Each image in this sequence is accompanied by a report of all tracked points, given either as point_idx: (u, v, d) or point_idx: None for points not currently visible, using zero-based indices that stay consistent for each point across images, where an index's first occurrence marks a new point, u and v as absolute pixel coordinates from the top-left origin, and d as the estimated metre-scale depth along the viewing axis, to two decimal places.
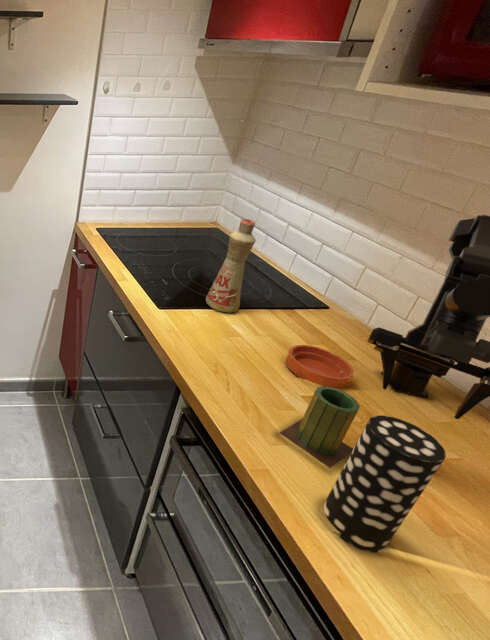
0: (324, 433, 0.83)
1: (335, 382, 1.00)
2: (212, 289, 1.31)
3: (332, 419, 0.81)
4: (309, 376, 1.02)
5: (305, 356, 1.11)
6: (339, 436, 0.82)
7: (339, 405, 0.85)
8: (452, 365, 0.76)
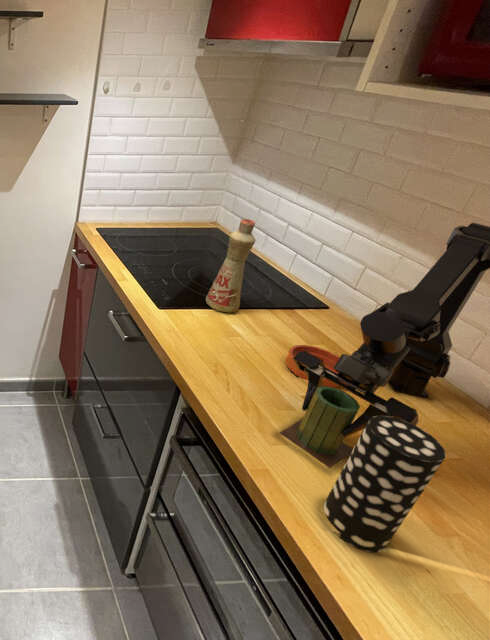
0: (324, 433, 0.83)
1: None
2: (212, 289, 1.31)
3: (332, 419, 0.81)
4: None
5: None
6: (339, 436, 0.82)
7: (339, 405, 0.85)
8: (353, 390, 0.84)
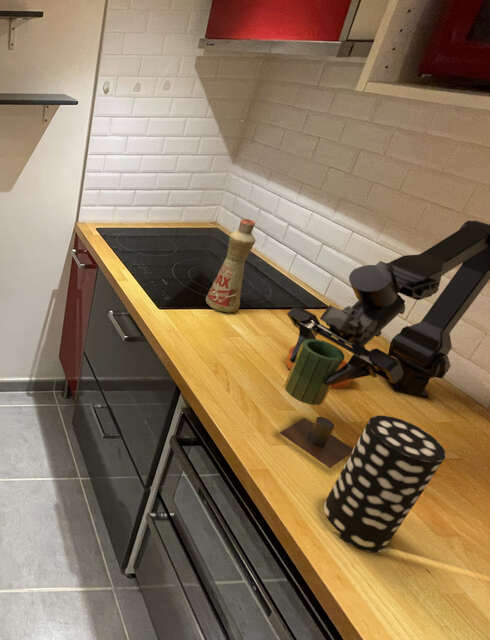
0: (307, 382, 0.86)
1: None
2: (212, 289, 1.31)
3: (315, 367, 0.84)
4: None
5: None
6: (322, 385, 0.85)
7: None
8: (341, 343, 0.85)
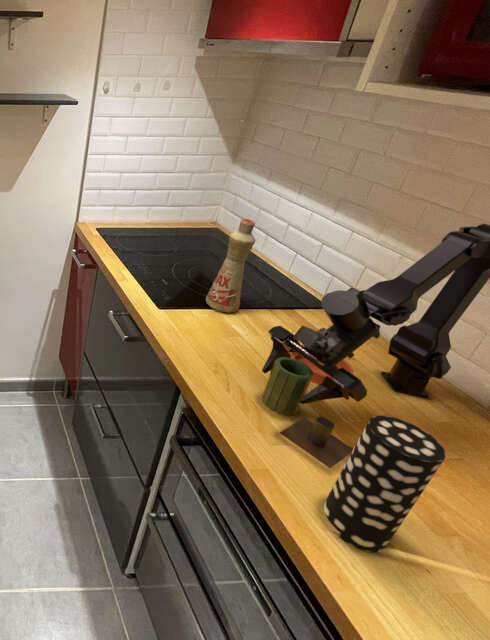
0: (278, 396, 0.93)
1: None
2: (212, 289, 1.31)
3: (284, 383, 0.91)
4: None
5: None
6: (291, 400, 0.92)
7: None
8: (319, 365, 0.91)
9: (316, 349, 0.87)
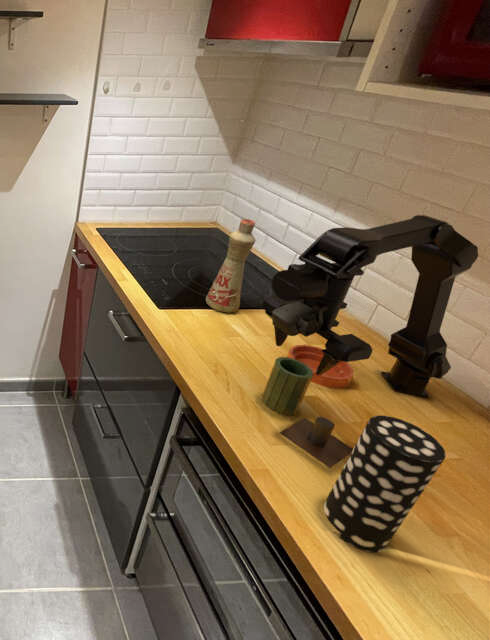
0: (278, 396, 0.93)
1: (335, 382, 1.00)
2: (212, 289, 1.31)
3: (284, 383, 0.91)
4: None
5: (305, 356, 1.11)
6: (291, 400, 0.92)
7: None
8: (317, 331, 0.86)
9: (295, 333, 0.84)
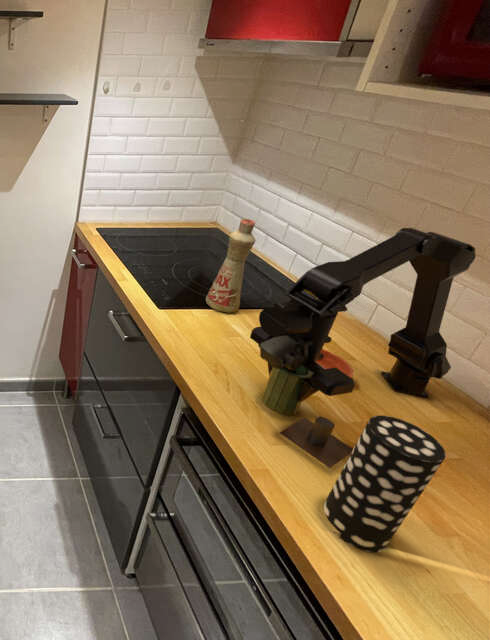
0: (278, 396, 0.93)
1: None
2: (212, 289, 1.31)
3: (284, 383, 0.91)
4: None
5: None
6: (291, 400, 0.92)
7: None
8: None
9: (281, 366, 0.87)
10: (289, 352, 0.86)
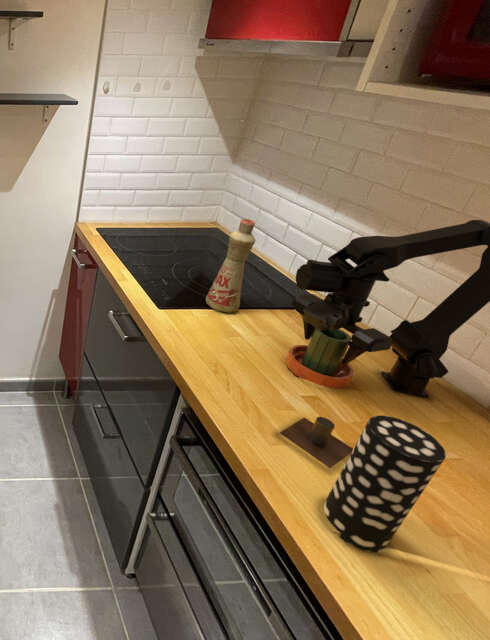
0: (318, 359, 1.03)
1: (335, 382, 1.00)
2: (212, 289, 1.31)
3: (324, 347, 1.01)
4: (309, 376, 1.02)
5: None
6: (331, 363, 1.02)
7: None
8: None
9: (324, 327, 0.97)
10: (332, 314, 0.96)
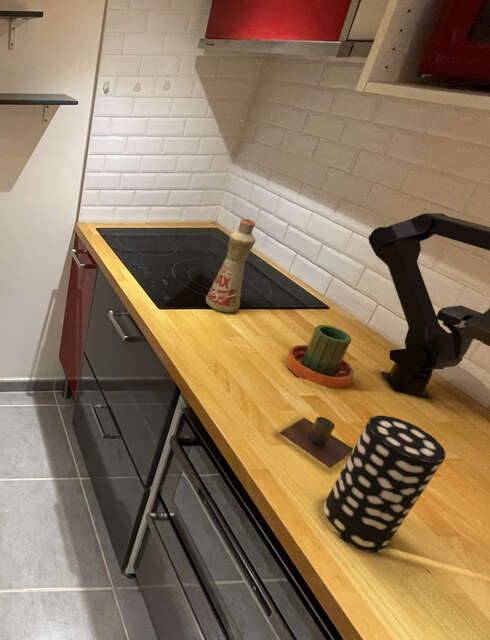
0: (318, 359, 1.03)
1: (335, 382, 1.00)
2: (212, 289, 1.31)
3: (324, 347, 1.01)
4: (309, 376, 1.02)
5: None
6: (331, 363, 1.02)
7: None
8: None
9: None
10: None
